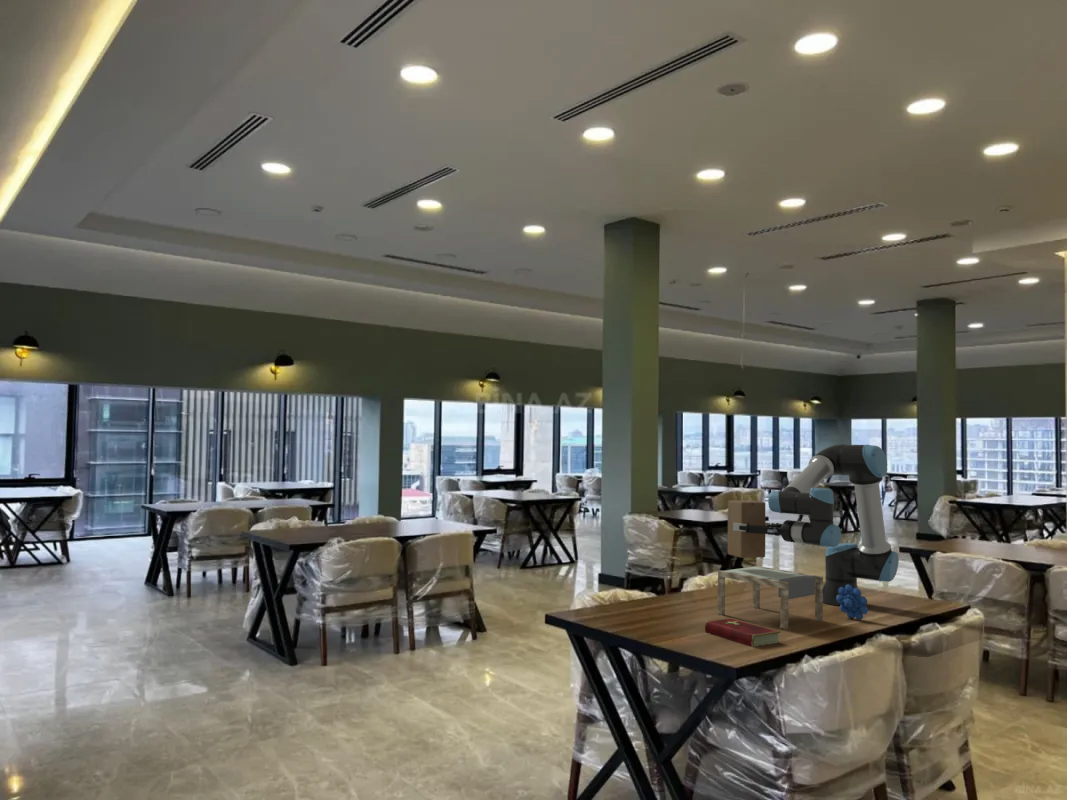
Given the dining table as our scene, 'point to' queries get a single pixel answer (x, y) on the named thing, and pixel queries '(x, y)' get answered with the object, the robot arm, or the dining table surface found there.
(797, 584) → the trapdoor
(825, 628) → the dining table surface
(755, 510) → the wooden block
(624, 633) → the dining table surface
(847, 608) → the grapes
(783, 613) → the hinged flap stand
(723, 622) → the hardcover book
